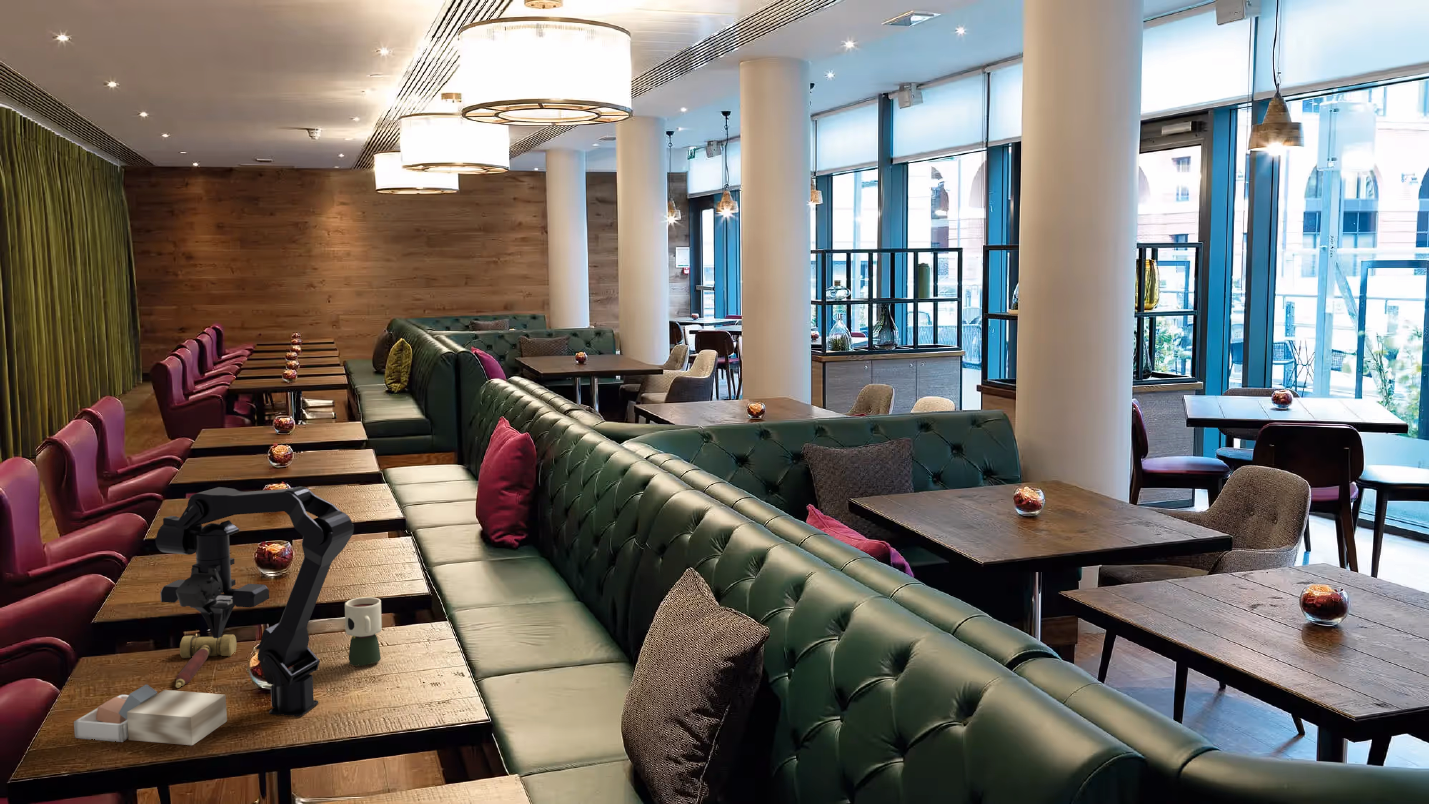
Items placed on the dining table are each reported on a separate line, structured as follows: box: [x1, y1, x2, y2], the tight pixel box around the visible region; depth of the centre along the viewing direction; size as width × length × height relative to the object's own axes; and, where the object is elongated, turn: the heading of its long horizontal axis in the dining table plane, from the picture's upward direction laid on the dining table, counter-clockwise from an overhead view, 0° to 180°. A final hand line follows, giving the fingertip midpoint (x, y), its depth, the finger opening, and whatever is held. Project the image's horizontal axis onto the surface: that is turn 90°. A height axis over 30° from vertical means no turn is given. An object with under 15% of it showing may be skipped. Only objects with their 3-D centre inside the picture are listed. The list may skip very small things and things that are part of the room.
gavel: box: [175, 634, 237, 689], centre depth 223 cm, size 21×5×10 cm
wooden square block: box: [127, 689, 228, 746], centre depth 194 cm, size 12×10×5 cm
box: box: [73, 694, 129, 743], centre depth 196 cm, size 9×12×3 cm
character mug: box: [344, 596, 382, 667], centre depth 226 cm, size 11×7×13 cm, turn 27°
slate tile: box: [118, 684, 158, 720], centre depth 196 cm, size 4×4×2 cm
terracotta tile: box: [96, 696, 126, 724], centre depth 197 cm, size 4×4×2 cm
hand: (217, 637), depth 207 cm, fingers closed
